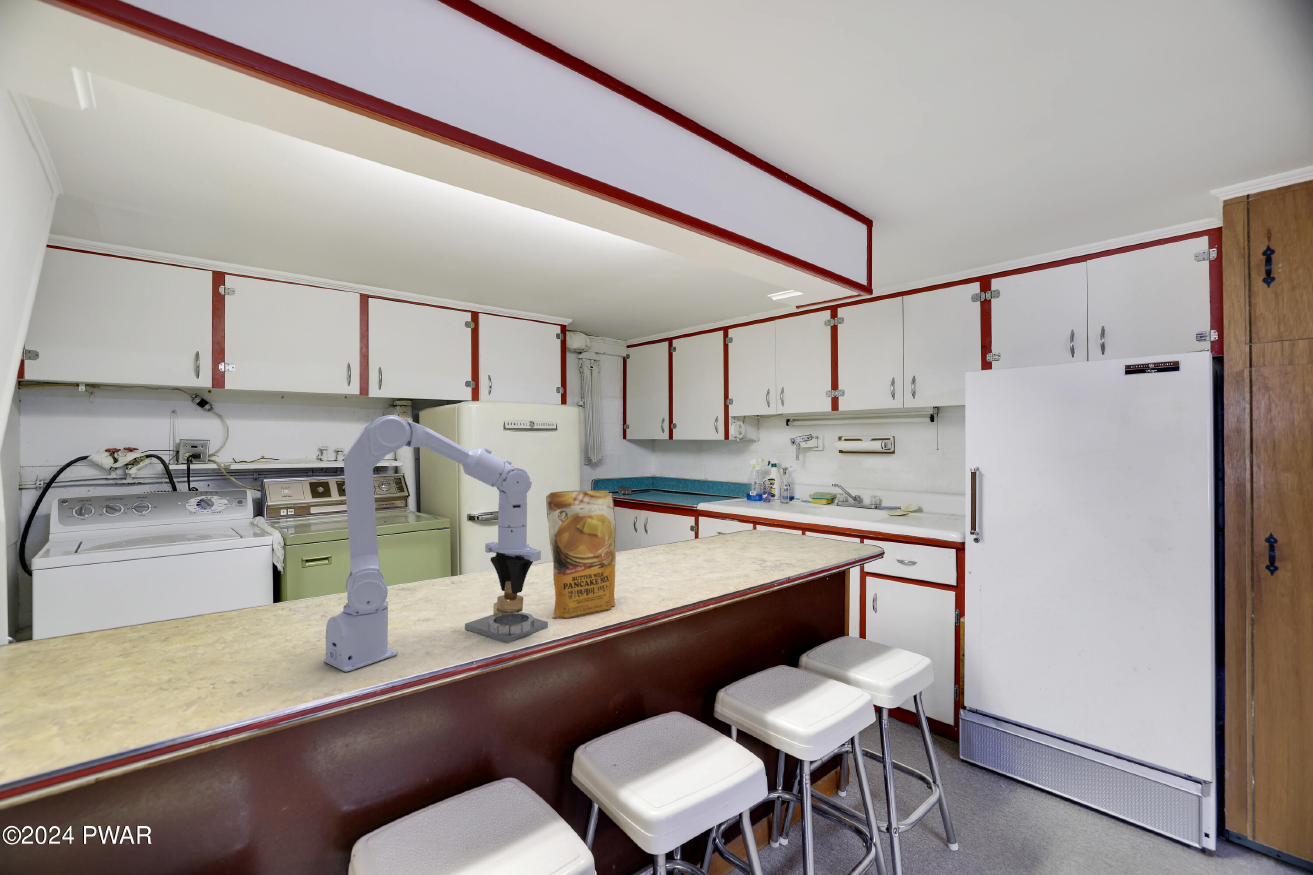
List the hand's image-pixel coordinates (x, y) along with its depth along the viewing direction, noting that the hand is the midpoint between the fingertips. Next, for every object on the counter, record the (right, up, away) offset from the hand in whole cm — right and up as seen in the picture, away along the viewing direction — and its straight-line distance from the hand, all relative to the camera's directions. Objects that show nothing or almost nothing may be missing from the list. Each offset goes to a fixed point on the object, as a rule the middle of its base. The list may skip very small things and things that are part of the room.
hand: (511, 591), depth 114 cm
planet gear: (0, -4, 0) cm, 4 cm away
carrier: (-2, -8, +2) cm, 9 cm away
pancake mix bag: (+13, -9, +14) cm, 21 cm away
